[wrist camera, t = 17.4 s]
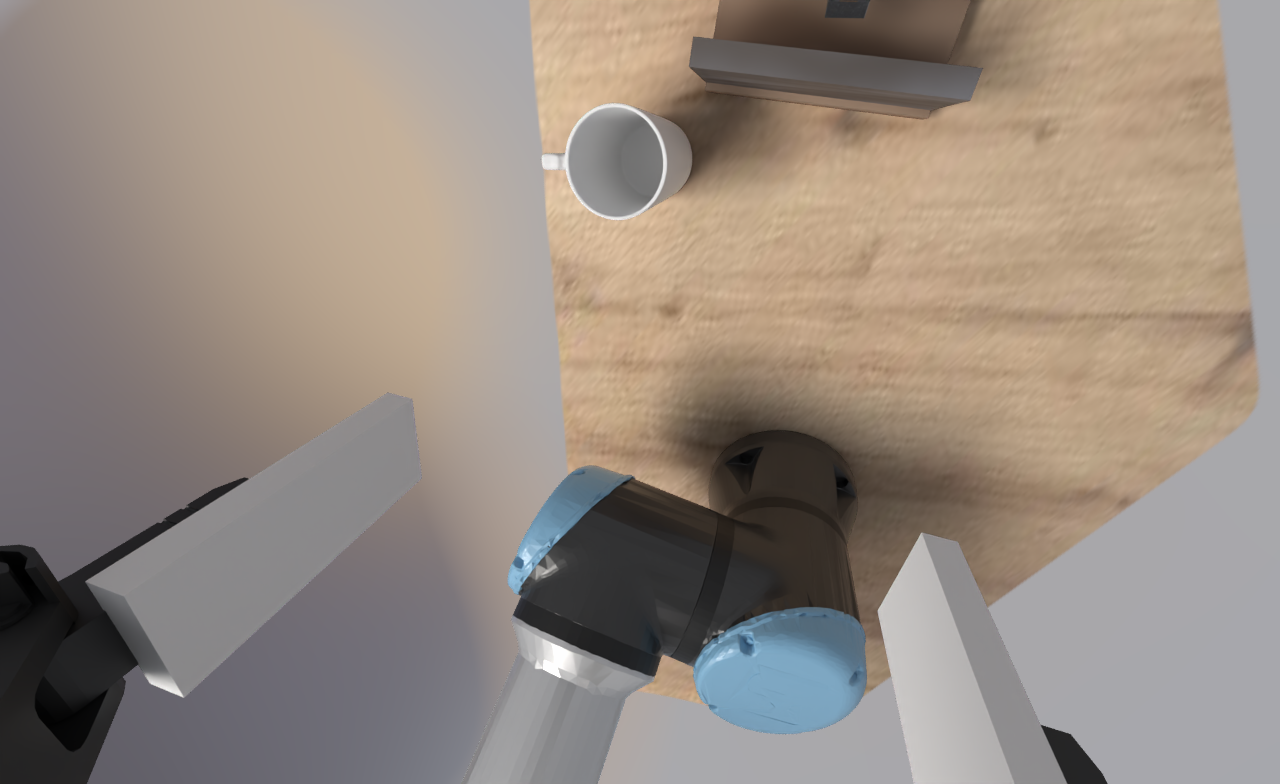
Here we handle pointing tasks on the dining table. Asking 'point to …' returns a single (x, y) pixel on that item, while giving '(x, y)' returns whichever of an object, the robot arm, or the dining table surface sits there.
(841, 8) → the canister
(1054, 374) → the dining table surface
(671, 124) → the mug
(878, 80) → the holder
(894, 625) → the robot arm
